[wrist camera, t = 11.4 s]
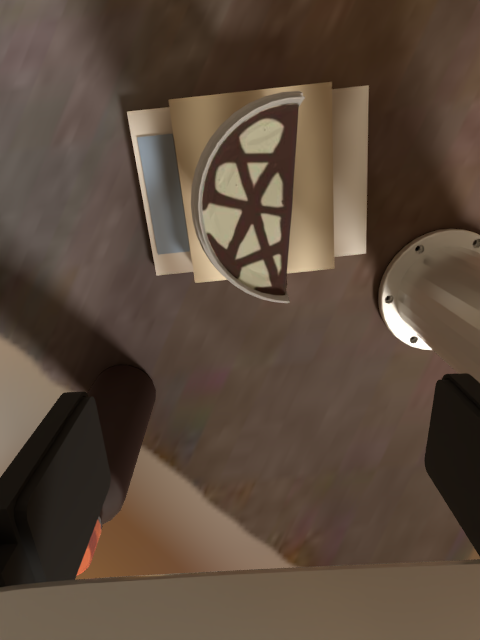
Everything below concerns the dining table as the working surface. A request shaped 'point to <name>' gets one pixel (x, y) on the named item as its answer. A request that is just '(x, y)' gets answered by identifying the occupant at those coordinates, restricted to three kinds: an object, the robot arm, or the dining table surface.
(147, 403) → the bottle
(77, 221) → the dining table surface
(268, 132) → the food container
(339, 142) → the build base
